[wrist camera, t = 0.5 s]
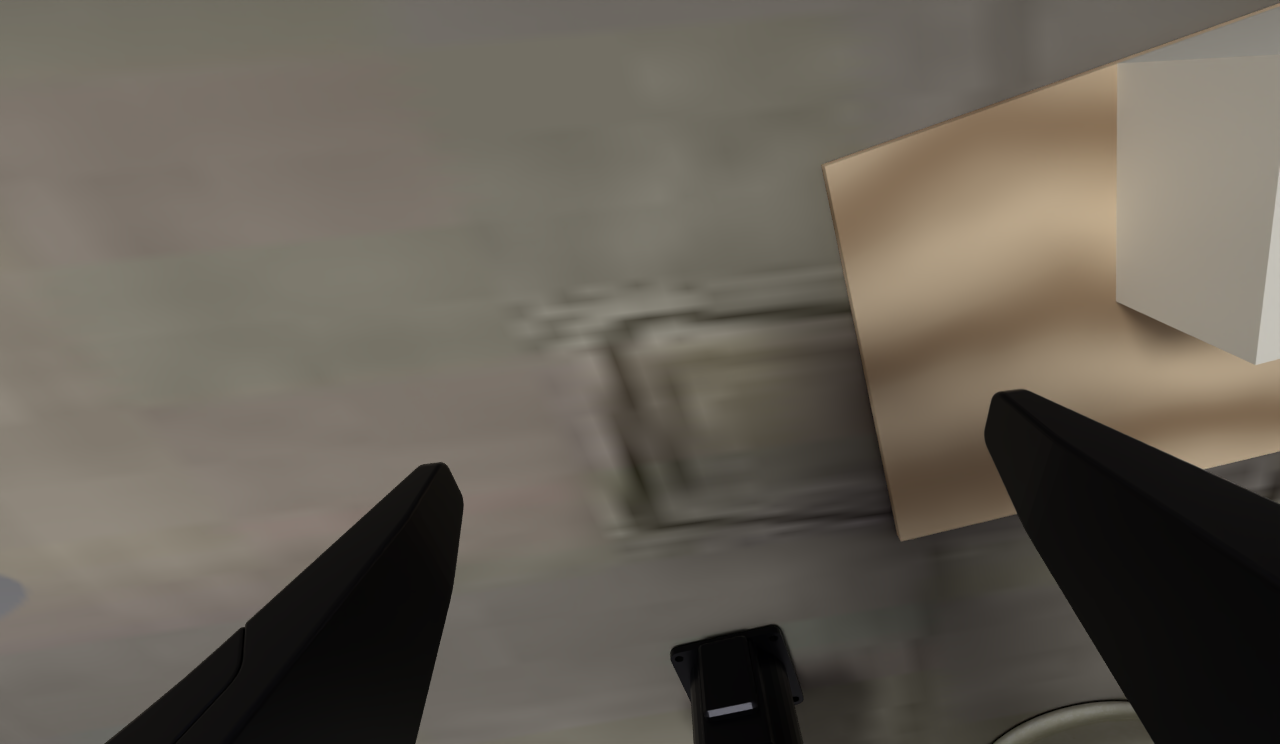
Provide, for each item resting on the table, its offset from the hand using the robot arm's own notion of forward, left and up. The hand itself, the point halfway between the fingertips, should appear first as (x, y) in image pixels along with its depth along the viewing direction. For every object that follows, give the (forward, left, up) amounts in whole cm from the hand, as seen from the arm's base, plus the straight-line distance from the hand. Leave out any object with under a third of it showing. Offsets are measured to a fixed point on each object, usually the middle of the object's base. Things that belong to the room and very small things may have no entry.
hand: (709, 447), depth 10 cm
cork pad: (-9, -16, -15) cm, 23 cm away
